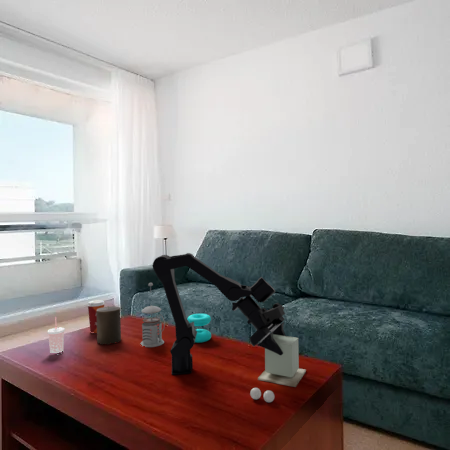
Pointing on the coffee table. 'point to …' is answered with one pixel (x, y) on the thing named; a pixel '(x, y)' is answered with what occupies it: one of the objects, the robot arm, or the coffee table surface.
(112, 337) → the pillar candle
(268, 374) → the birch coaster
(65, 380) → the coffee table surface
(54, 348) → the beverage cup
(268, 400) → the marble
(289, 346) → the bulging sage box
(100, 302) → the paper cup
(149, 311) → the french press
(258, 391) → the marble
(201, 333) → the donuts
